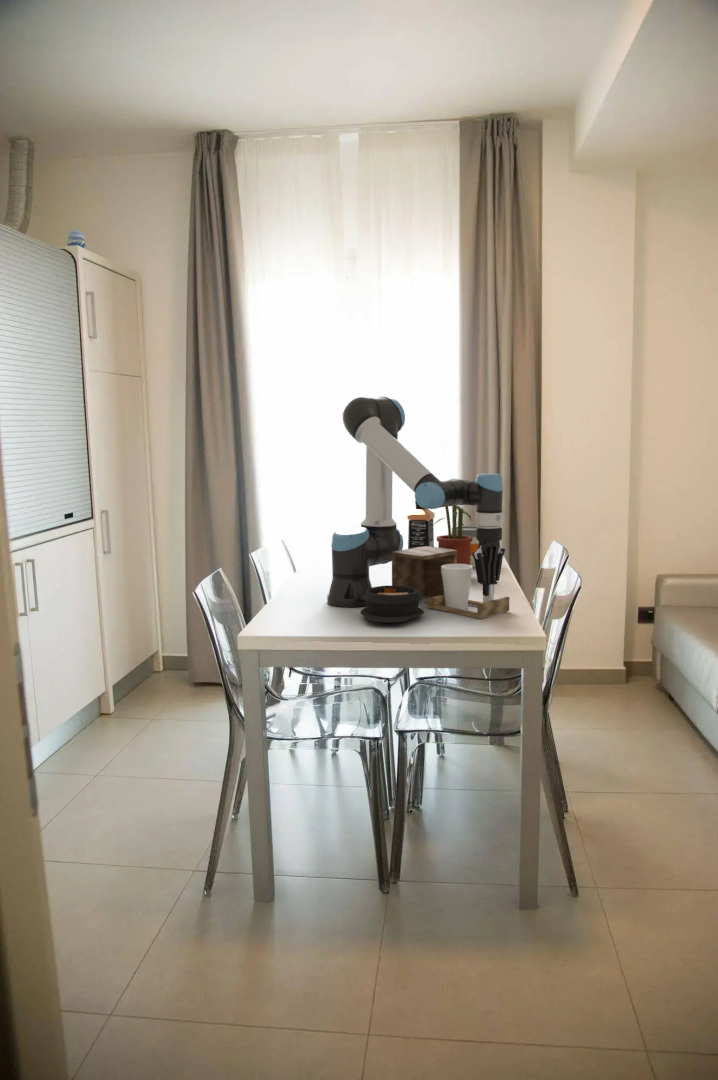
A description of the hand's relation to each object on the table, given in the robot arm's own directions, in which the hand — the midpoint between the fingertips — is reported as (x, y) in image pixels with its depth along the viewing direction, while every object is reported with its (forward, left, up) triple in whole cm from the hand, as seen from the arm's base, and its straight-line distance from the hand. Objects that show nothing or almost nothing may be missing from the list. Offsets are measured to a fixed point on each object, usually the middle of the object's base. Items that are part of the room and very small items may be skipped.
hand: (488, 605), depth 240 cm
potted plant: (+39, +47, -3) cm, 61 cm away
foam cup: (0, +12, -3) cm, 12 cm away
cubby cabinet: (+1, +26, -3) cm, 26 cm away
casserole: (-23, +17, -3) cm, 29 cm away
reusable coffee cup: (+61, +57, -3) cm, 84 cm away
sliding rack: (0, +8, -2) cm, 8 cm away
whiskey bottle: (+56, +77, -3) cm, 95 cm away
